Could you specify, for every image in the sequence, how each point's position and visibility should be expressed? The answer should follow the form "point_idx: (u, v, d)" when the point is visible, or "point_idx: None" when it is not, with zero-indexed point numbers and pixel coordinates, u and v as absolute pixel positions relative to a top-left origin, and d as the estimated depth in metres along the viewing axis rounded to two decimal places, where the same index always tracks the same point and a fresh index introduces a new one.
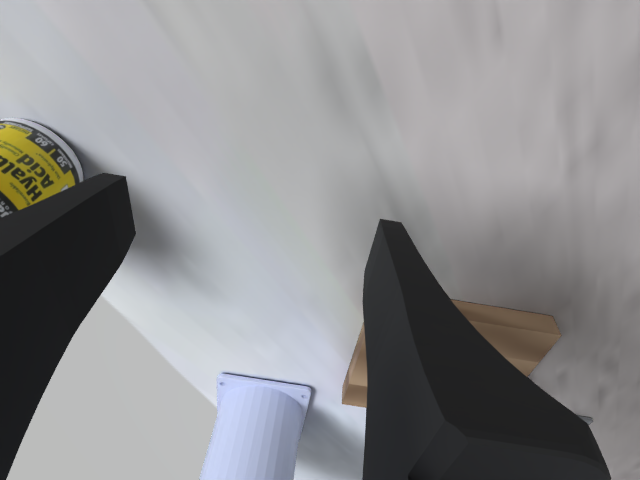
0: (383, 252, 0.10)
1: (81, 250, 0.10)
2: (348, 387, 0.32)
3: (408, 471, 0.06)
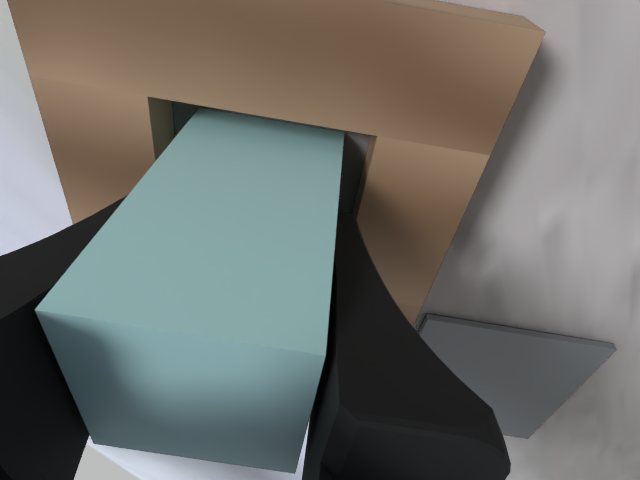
0: None
1: None
2: None
3: (321, 458, 0.06)
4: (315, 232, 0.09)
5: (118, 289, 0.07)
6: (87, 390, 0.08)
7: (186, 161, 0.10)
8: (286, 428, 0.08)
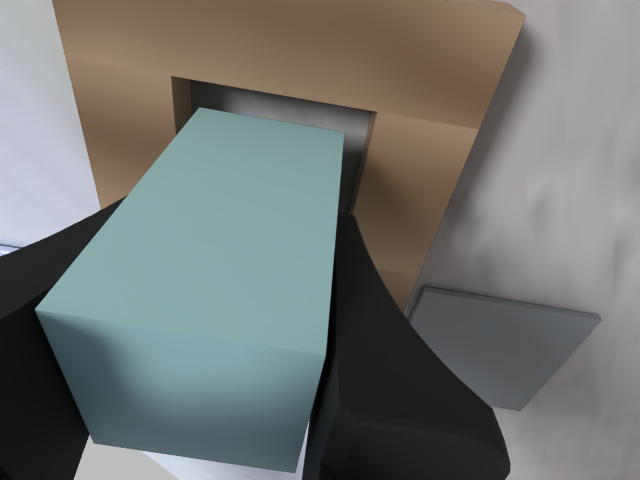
0: None
1: None
2: None
3: (321, 458, 0.06)
4: (315, 232, 0.09)
5: (119, 288, 0.07)
6: (87, 390, 0.08)
7: (186, 161, 0.10)
8: (286, 428, 0.08)
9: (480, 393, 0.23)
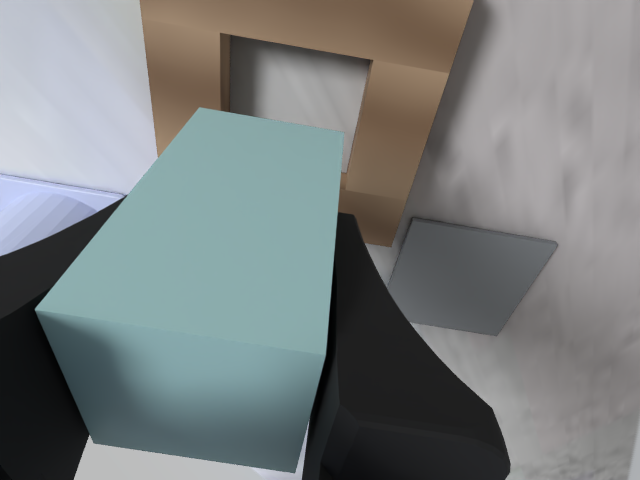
0: None
1: None
2: None
3: (321, 458, 0.06)
4: (315, 232, 0.09)
5: (119, 288, 0.07)
6: (87, 390, 0.08)
7: (186, 161, 0.10)
8: (286, 428, 0.08)
9: (462, 319, 0.27)
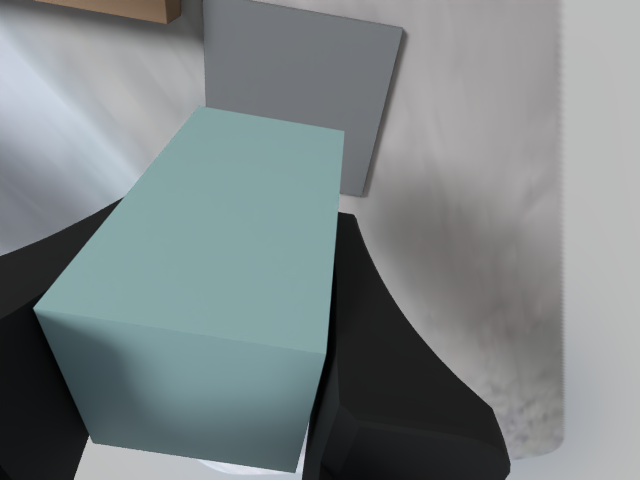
0: None
1: None
2: None
3: (321, 458, 0.06)
4: (315, 231, 0.09)
5: (118, 287, 0.07)
6: (86, 389, 0.07)
7: (186, 159, 0.10)
8: (286, 427, 0.08)
9: None
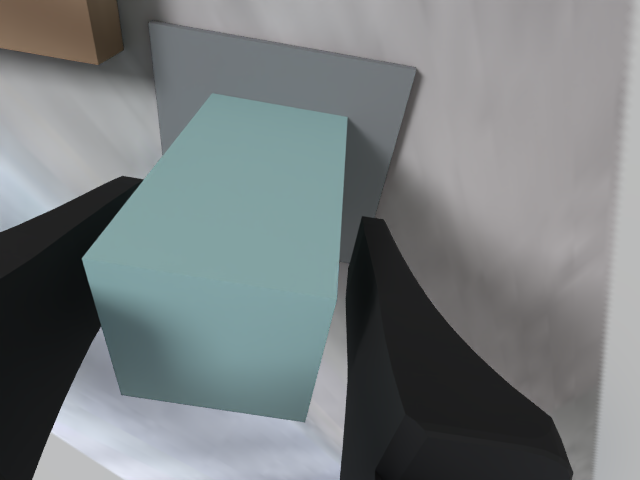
0: (363, 249, 0.10)
1: None
2: None
3: (375, 466, 0.06)
4: (323, 201, 0.09)
5: (153, 243, 0.08)
6: (121, 339, 0.08)
7: (203, 139, 0.11)
8: (299, 374, 0.09)
9: None
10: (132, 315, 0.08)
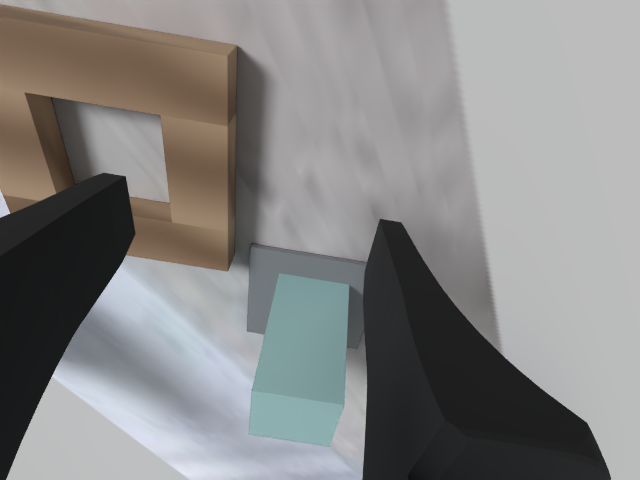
0: (383, 252, 0.10)
1: (81, 250, 0.10)
2: (7, 202, 0.22)
3: (408, 471, 0.06)
4: (338, 351, 0.22)
5: (274, 381, 0.20)
6: (256, 414, 0.21)
7: (281, 313, 0.23)
8: (328, 428, 0.21)
9: None
10: (264, 407, 0.20)
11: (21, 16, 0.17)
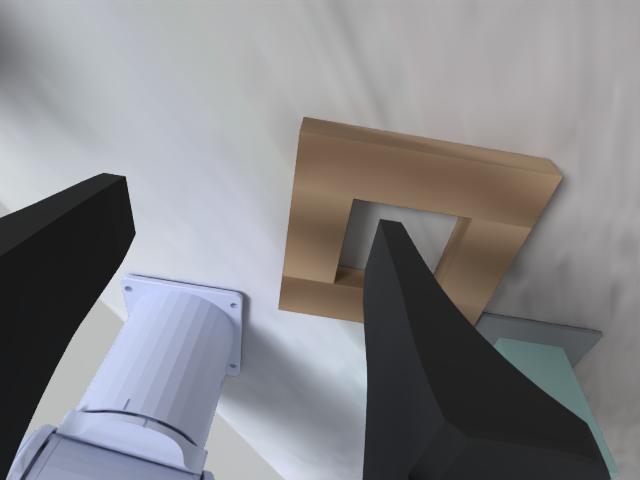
0: (383, 252, 0.10)
1: (81, 250, 0.10)
2: (282, 281, 0.24)
3: (408, 471, 0.06)
4: (588, 418, 0.24)
5: None
6: None
7: None
8: None
9: None
10: None
11: (377, 139, 0.19)
